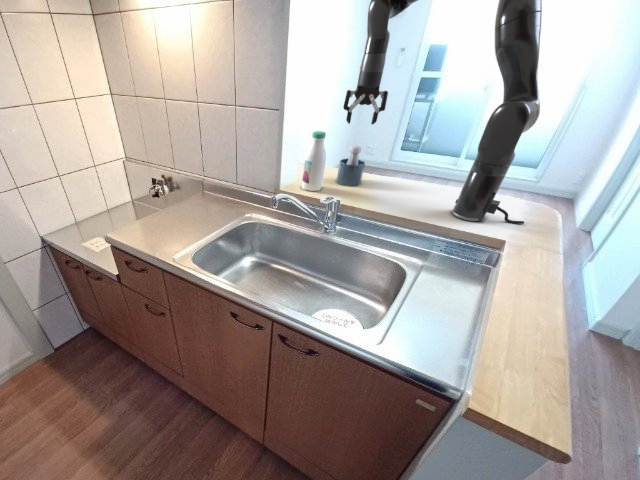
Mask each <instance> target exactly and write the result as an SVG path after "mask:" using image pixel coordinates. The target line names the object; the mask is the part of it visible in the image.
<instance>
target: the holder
mask: <svg viewBox="0 0 640 480" xmlns="http://www.w3.org/2000/svg"><path fill="white" fill-rule="evenodd" d="M348 159H349V158H342V159H340V160H339V164H338V170H337V175H336V183H337V184H339V185H341V186H343V187H344V186H345V187H356V186H360V185H361V183H362V178H363V175H364V170H365V166H366V162H365V161H364V160H362V159H358V165H348V164H347V161H348Z"/></svg>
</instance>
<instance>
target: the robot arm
mask: <svg viewBox="0 0 640 480" xmlns="http://www.w3.org/2000/svg"><path fill="white" fill-rule="evenodd" d="M418 1H419V0H370V3H369V6H368V10H367V27H366V28H367V29H366V33H367V34H366V35H367V37H366V40H365V46H364V50H363V51H364V52H363V56H362V59H361V63H360V67H359V74H358V78H357V85H356V89H355V90H351V89H347V90H346V93H345V98H344V102H343V107H342V108H343V110H344V111H346V112H347V114H346V119H345V120H346V123H347V124H349V125H350V124H351V121H352V116H353V115H352V114H353V110H354V109H355V108H357V106H358V105H360V106H364V105H366V106H370V105H371V107H372V108H373V110H374V112H373V113H372V118H371V122H370V123H371V125H375V123H377V120H378V117H379V113H381V112H385V110H386V106H387V101H388V96H389V91H388V90H380V87H381V84H382V83H381V82H382V77H383V74H384V69H385V64H386V58H387V51H388V49H389V48H388V47H389V42H390V38H391V34H390V31H389V29H388V28H389V20H391V19H393V18H395V17H397V16H398V15H400V14H401V13H402V12H403V11H405V10H406V9H408V8H409V7H410V6H412V5H413V4H414V3H416V2H418ZM542 2H543V1H542V0H498V4H497V9H496V14H495V21H494V55H495V59H496V62H497V66H498V69H499V73H500V75H501V78H502V83H503V99H502V103H501V104H499V105H498V106H497V107H496V108H495V109H494V110H493V111H492V113H491V115H490V116H489V118H488V120H487V123H486V125H485V127H484V130H483V132H482V135H481V138H480V140H479V143H478V145H477V154H476V156H475V159H474V161H473V163H472V166H471V168H470V170H469V172H468V175H467V177H466V178H465V182H464V184H463V186H462V188H461V191H460V193H459V195H458V198H457V199H456V200H455V203H454V204H455V205H454V207H453V208H452V211H451V214H452V215H453V216H454V217H456V218H458V219H461V220H464V221H469V222H479V223H482V222H483V221H484V220H485V218H486V215H487V214H492V215H494V214H495V213H496V211H499V212H500V213H502V214H503V215H504V221H505V222H506V223H509V224H515V225H516V224H519V225H523V224H525V221H524V220H511V219H509V213H508V212H507V210H505V209H503V208H501V207H500V204H501V201H500V200H495V198H496V196H497V193H498V192H499V190H500V187H501V185H502V183H503V182H504V179H505V177H506V175H507V173H508V172H509V169H510V167H511V165H512V163H513V162H514V160H515V158H516V152H515V149H516V147H517V145H518V143H519V141H520V138H521V136H522V134H524V133H525V132H528V131H529V130H530V129H531V128H533V126H534V125H535V124H536V122H537V121H538V119H539V116H540V114H541V104H540V92H539V91H540V90H539V80H538V79H539V78H538V73H539V72H538V71H539V61H540V49H541V48H540V47H541V31H542V17H543V15H542V14H543V12H542V11H543V5H542V4H543V3H542ZM353 95H354V97H355V100H354V101H353V102H352V103H351V104H350V106H349V102H350V98H352V97H353ZM379 96H380V99H381V102H380V106H378V104H377V101H376V99H377V98H378V97H379Z"/></svg>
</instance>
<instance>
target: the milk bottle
mask: <svg viewBox="0 0 640 480" xmlns="http://www.w3.org/2000/svg"><path fill="white" fill-rule="evenodd" d="M311 136H312V137H311V143H310V146H309V148H308V150H307V151H306V153H305V159H304V164H303V172H302V180H301V188H302V189H303V190H305V191H309V192H317V191H320V190H321V189H322V187H323V181H324V175H325V168H326V161H327V152H326V147H325V140H326V131H320V130H315V131H313V132H312V135H311Z"/></svg>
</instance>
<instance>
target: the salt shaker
mask: <svg viewBox="0 0 640 480" xmlns="http://www.w3.org/2000/svg"><path fill="white" fill-rule="evenodd" d="M348 150H349V152H348V153H350V154H349V156H348V158H347V159H348V161H347V164H348V165H358V160H359V157H360V156H359V155H360V153H361V152H362V146H359V145H351V146H350V147H349V149H348Z"/></svg>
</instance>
